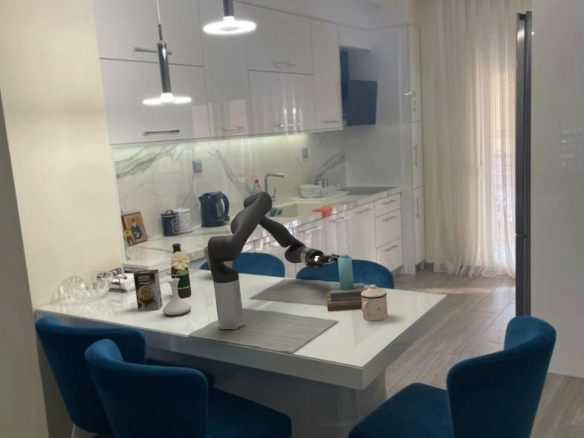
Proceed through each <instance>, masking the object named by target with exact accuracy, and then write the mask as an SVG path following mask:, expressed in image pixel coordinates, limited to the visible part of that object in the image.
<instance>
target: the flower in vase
mask: <svg viewBox="0 0 584 438" xmlns="http://www.w3.org/2000/svg"><path fill="white" fill-rule="evenodd" d="M190 260H191V259H190V257H189V256H188V254H186V253H185V252H184V251H182V250H181V251H180V252H178V251H177V252H176V253H174V255H173V254H171V256H170V265H171V267H172V266H173V267H174V268H175V269H178V271H177V273H179V274H181V275H185V274H187V273H189V274H190V272H188V271H187V270H185V268H187V267H188V268H189V266H190ZM180 269H181V270H180ZM166 274H167V275H168V276H170V277H171V276H175V275H174V274H171V273H168V272H166ZM176 276H177V274H176ZM176 276H175V278H173V279H172V278H169V279H167V280H166V283H168V284H169V286H170V289H171V295H172V297H171V299H170V300H169V301H168V302H167V303H166V305H165V306H164V307H163V309H162V313H163V314H165V315H169V316H176V315H177V316H178V315H182V314H183V315H184V314H186V313H187V312H189V311H190V310H191V309H192V305H191V304H190V303H189V302H188V301H186V300H184V299H183V298H182V299H181V298H180V297H179V295H178V290H177V286H178V282H179V280H180V279H179V278H176Z"/></svg>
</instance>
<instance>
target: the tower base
mask: <svg viewBox="0 0 584 438" xmlns="http://www.w3.org/2000/svg"><path fill="white" fill-rule="evenodd" d="M353 285H354V288H353V289H349V290H342V289H340V284H331V285H329V287H330V290H329V291H328V290H327V293H326V306H327V307H326V308H327V311H328V312H333V311H335V312H337V311H347V310H360V309H361V310H362V297H361V293H362V292H363V291H364V290H367V289H368V288H365V285H364V283H363V282H357V283H354V282H353Z"/></svg>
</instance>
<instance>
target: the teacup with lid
mask: <svg viewBox="0 0 584 438" xmlns="http://www.w3.org/2000/svg"><path fill="white" fill-rule="evenodd" d="M387 295H388V294H387V291H386V290H385V289H383V288H382V289H381V288H379V287H377V285H375V284H371V285H369V287H368V288H367V290H364V291H363V292H362V293H361V297H362V309H361V312H362V318H363V319H364V320H366V321H369V322H381V321H384V320H386V319H387V318H388V317H389V316H388V304H387V303H388V301H387Z"/></svg>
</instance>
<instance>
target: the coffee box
mask: <svg viewBox="0 0 584 438" xmlns="http://www.w3.org/2000/svg"><path fill="white" fill-rule="evenodd" d="M133 281H134V290H135V298H136V305H137V311H138V312H146V311H158V310H160V309H161V308H162V307H163V302H162V301H163V299H162V292H161V284H160V283H161V282H160V274H159V269H157V268H156V269H146V270H145V269H144V270H137V271H135V272H134V273H133Z"/></svg>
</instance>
